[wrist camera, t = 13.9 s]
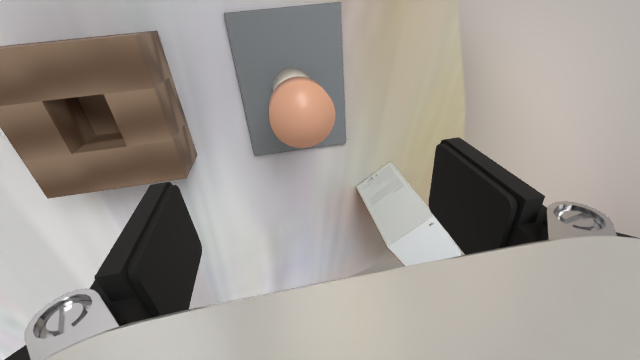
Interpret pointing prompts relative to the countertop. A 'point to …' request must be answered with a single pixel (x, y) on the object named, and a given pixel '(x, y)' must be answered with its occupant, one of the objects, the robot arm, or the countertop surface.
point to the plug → (300, 109)
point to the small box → (405, 219)
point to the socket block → (94, 113)
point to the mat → (287, 63)
